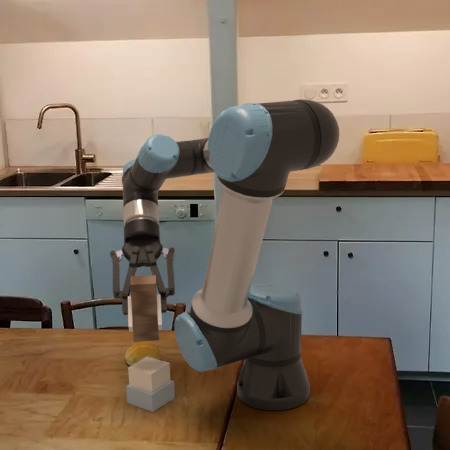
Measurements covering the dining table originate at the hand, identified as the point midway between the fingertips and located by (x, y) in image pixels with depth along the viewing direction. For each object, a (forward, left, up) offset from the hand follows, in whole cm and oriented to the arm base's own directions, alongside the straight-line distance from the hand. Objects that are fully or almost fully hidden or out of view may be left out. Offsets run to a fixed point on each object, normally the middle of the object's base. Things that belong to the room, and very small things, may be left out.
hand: (145, 328), depth 138 cm
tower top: (+2, -3, -14) cm, 14 cm away
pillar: (+3, -3, -3) cm, 5 cm away
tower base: (+2, -3, -18) cm, 18 cm away
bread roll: (+16, -16, -18) cm, 29 cm away
